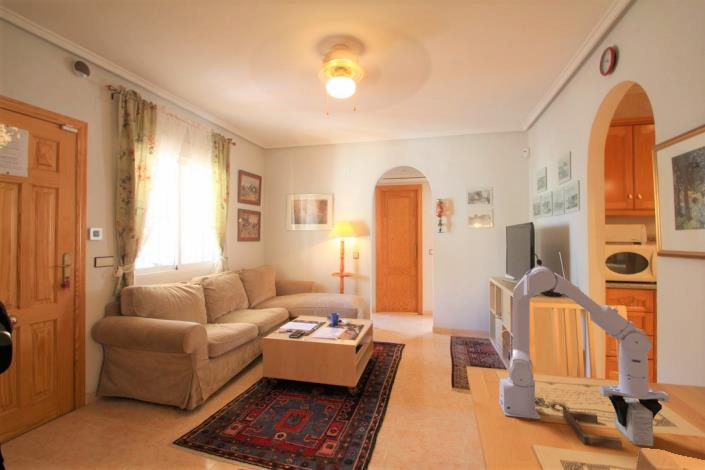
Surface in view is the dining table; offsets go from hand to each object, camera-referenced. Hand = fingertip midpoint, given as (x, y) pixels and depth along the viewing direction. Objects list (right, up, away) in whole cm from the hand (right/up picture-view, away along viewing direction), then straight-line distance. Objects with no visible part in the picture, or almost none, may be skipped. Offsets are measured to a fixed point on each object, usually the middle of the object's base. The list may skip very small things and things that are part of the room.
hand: (633, 425), depth 82 cm
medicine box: (0, -3, 0) cm, 3 cm away
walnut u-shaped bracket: (-10, -3, +2) cm, 10 cm away
